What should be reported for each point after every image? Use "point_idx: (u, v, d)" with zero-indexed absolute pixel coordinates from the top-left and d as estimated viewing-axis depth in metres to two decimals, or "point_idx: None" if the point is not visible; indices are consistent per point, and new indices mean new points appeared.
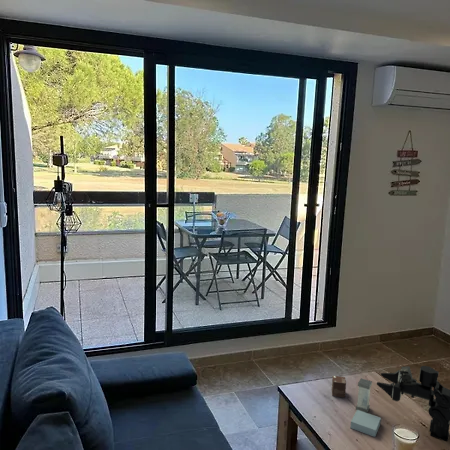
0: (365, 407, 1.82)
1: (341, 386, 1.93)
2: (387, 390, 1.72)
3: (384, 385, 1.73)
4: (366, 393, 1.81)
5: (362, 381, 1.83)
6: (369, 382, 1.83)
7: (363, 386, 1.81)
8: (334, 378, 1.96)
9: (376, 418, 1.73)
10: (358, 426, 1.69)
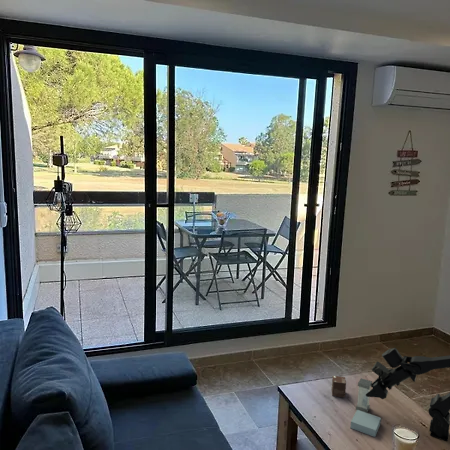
0: (365, 407, 1.82)
1: (341, 386, 1.93)
2: (375, 394, 1.75)
3: (370, 392, 1.76)
4: (366, 393, 1.81)
5: (362, 381, 1.83)
6: (369, 382, 1.83)
7: (363, 386, 1.81)
8: (334, 378, 1.96)
9: (376, 418, 1.73)
10: (358, 426, 1.69)
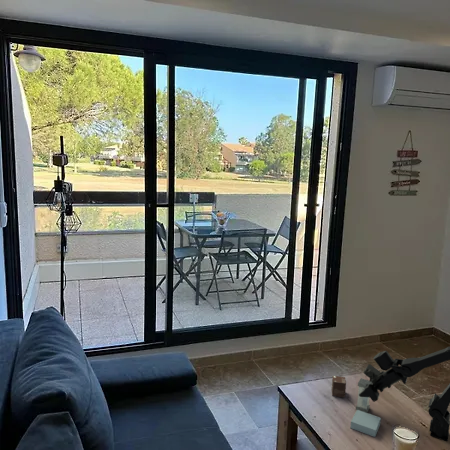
0: (365, 407, 1.82)
1: (341, 386, 1.93)
2: None
3: (363, 392, 1.80)
4: None
5: (362, 381, 1.83)
6: (369, 382, 1.83)
7: (363, 386, 1.81)
8: (334, 378, 1.96)
9: (376, 418, 1.73)
10: (358, 426, 1.69)
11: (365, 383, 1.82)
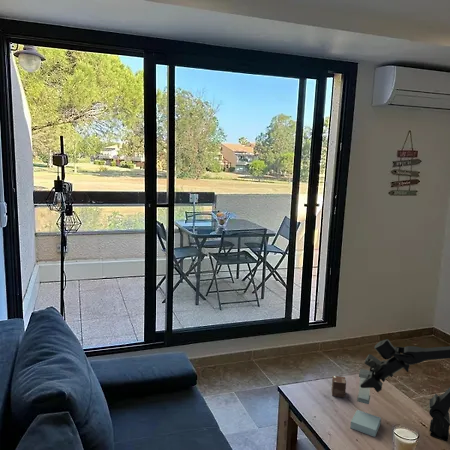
0: (367, 398, 1.78)
1: (341, 386, 1.93)
2: (370, 385, 1.75)
3: (365, 383, 1.76)
4: None
5: (363, 371, 1.79)
6: (370, 372, 1.79)
7: (364, 376, 1.77)
8: (334, 378, 1.96)
9: (376, 418, 1.73)
10: (358, 426, 1.69)
11: (366, 373, 1.78)
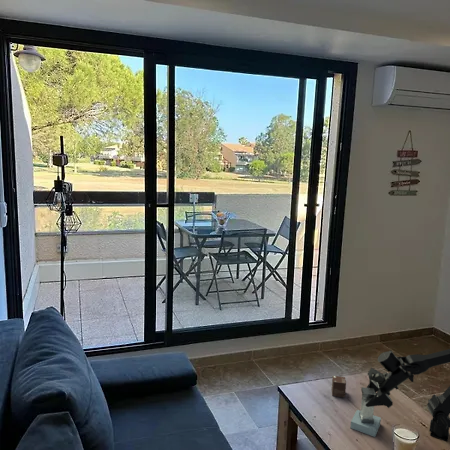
0: (371, 417, 1.70)
1: (341, 386, 1.93)
2: (377, 403, 1.65)
3: (372, 401, 1.66)
4: None
5: (366, 390, 1.70)
6: (372, 390, 1.71)
7: (369, 396, 1.68)
8: (334, 378, 1.96)
9: (376, 418, 1.73)
10: (358, 426, 1.69)
11: (370, 392, 1.69)
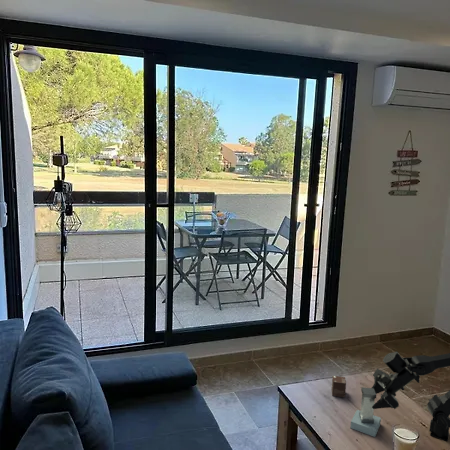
0: (371, 417, 1.70)
1: (341, 386, 1.93)
2: (384, 405, 1.64)
3: (378, 403, 1.65)
4: (372, 402, 1.69)
5: (366, 390, 1.70)
6: (372, 390, 1.71)
7: (369, 396, 1.68)
8: (334, 378, 1.96)
9: (376, 418, 1.73)
10: (358, 426, 1.69)
11: (370, 392, 1.69)
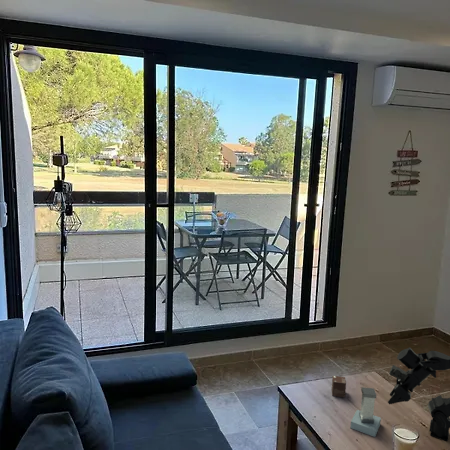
0: (371, 417, 1.70)
1: (341, 386, 1.93)
2: (398, 399, 1.65)
3: (392, 397, 1.66)
4: (372, 402, 1.69)
5: (366, 390, 1.70)
6: (372, 390, 1.71)
7: (369, 396, 1.68)
8: (334, 378, 1.96)
9: (376, 418, 1.73)
10: (358, 426, 1.69)
11: (370, 392, 1.69)
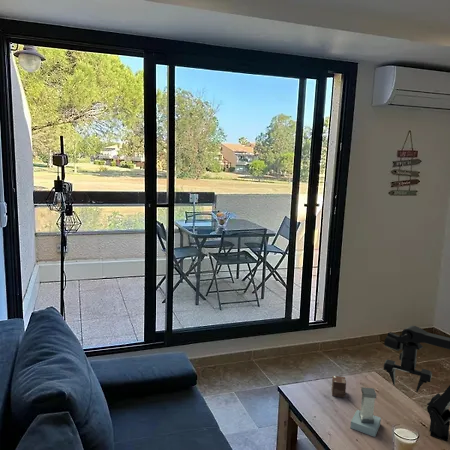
0: (371, 417, 1.70)
1: (341, 386, 1.93)
2: None
3: None
4: (372, 402, 1.69)
5: (366, 390, 1.70)
6: (372, 390, 1.71)
7: (369, 396, 1.68)
8: (334, 378, 1.96)
9: (376, 418, 1.73)
10: (358, 426, 1.69)
11: (370, 392, 1.69)
